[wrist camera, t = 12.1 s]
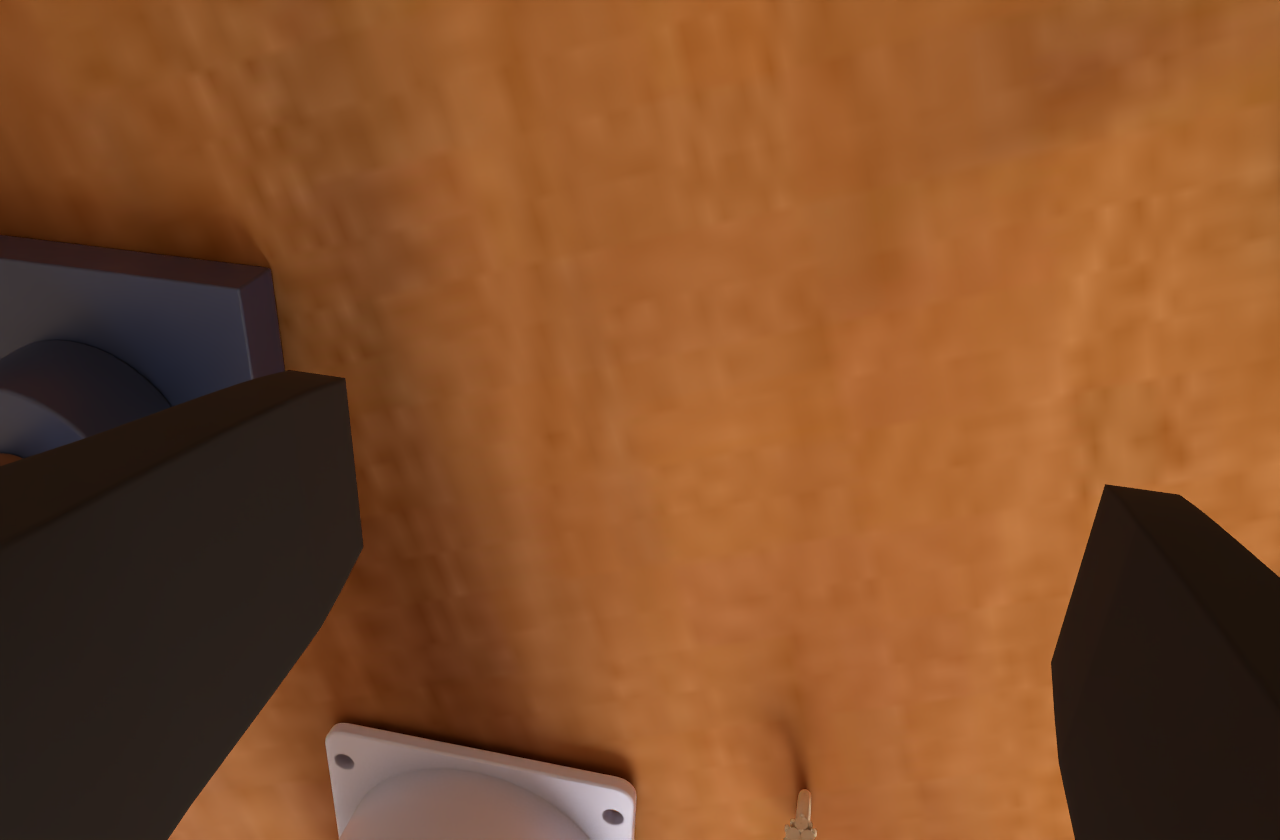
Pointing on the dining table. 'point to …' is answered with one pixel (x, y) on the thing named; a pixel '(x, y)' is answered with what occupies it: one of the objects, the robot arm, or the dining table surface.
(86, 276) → the ring post
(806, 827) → the ring
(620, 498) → the dining table surface
